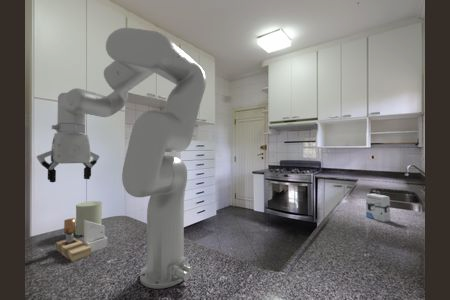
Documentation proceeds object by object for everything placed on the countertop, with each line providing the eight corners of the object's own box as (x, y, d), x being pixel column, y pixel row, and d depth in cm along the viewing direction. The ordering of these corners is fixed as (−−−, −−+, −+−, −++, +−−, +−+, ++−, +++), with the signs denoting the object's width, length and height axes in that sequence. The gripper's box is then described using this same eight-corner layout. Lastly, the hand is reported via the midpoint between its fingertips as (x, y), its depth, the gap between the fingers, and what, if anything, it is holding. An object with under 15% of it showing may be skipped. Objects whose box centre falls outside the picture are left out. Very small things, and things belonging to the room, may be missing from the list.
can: (99, 233, 81) (99, 203, 81) (71, 237, 77) (72, 206, 77) (103, 226, 89) (104, 199, 89) (79, 228, 86) (79, 201, 86)
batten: (91, 254, 63) (91, 247, 63) (72, 261, 59) (72, 253, 59) (73, 243, 71) (73, 237, 71) (55, 249, 67) (55, 242, 67)
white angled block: (68, 247, 63) (84, 220, 67) (97, 252, 70) (110, 227, 74) (72, 251, 61) (89, 222, 64) (102, 255, 68) (116, 229, 72)
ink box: (365, 216, 102) (365, 193, 102) (372, 215, 103) (372, 193, 104) (383, 222, 94) (382, 197, 94) (390, 221, 95) (390, 196, 95)
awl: (76, 249, 67) (77, 219, 67) (65, 252, 65) (66, 221, 65) (73, 246, 69) (73, 217, 69) (62, 250, 66) (62, 220, 67)
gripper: (41, 126, 59) (40, 184, 58) (103, 132, 73) (103, 178, 72) (34, 128, 63) (32, 182, 62) (94, 133, 77) (93, 177, 77)
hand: (70, 180), depth 67 cm, fingers open, 9 cm apart
